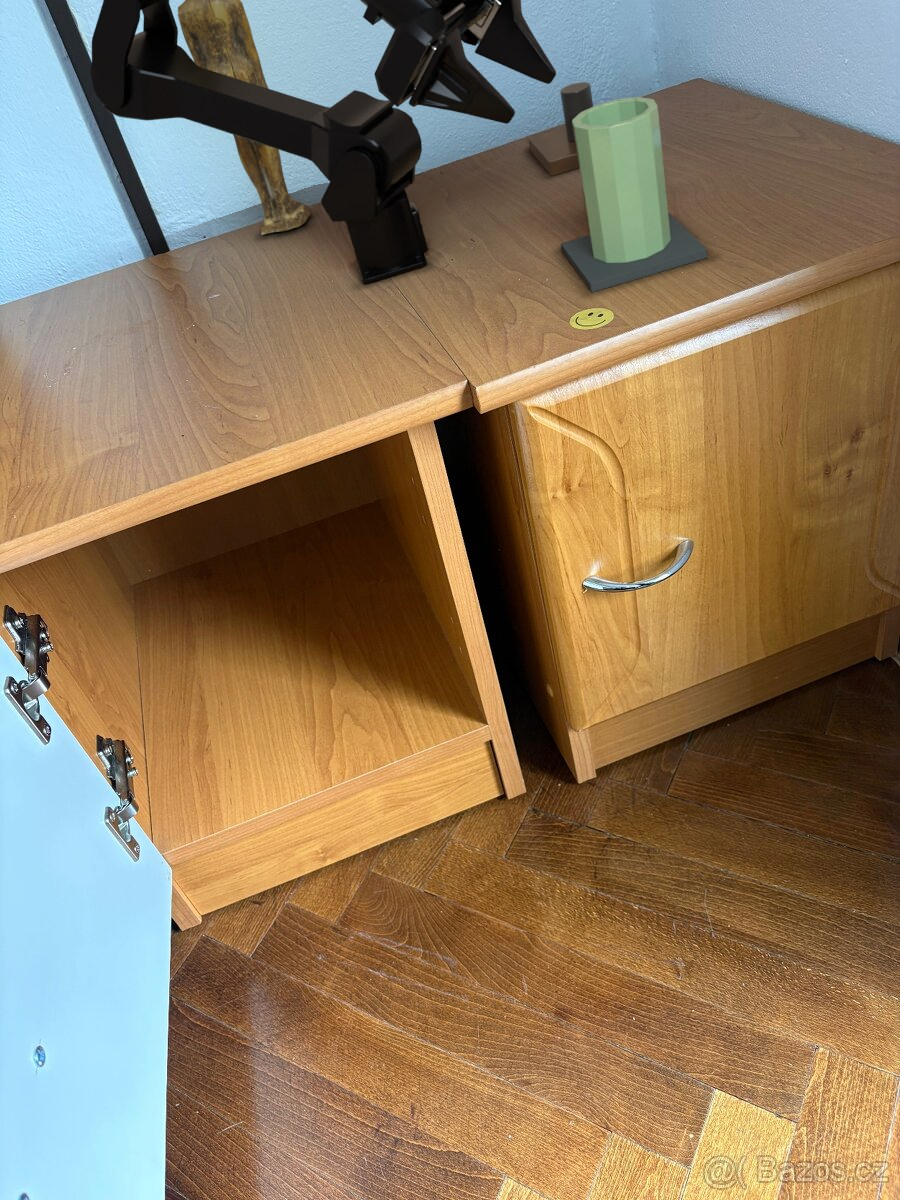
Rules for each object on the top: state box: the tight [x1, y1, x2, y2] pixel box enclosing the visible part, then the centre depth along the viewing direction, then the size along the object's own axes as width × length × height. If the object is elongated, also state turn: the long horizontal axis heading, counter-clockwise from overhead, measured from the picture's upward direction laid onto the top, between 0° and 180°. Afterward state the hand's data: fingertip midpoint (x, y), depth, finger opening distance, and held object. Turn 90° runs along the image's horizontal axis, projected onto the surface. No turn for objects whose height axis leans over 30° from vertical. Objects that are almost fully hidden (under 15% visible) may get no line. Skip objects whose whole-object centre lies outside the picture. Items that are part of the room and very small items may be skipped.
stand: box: [527, 81, 594, 177], centre depth 109 cm, size 10×10×6 cm
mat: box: [560, 212, 708, 293], centre depth 87 cm, size 10×10×1 cm
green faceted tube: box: [572, 96, 671, 263], centre depth 84 cm, size 7×7×11 cm
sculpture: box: [177, 0, 313, 236], centre depth 105 cm, size 7×6×30 cm
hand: (533, 97), depth 82 cm, fingers open, 9 cm apart
